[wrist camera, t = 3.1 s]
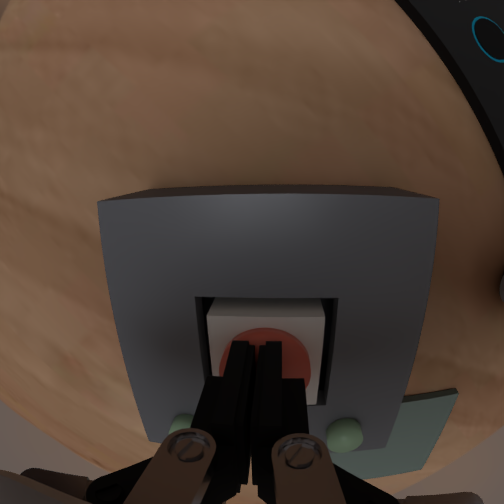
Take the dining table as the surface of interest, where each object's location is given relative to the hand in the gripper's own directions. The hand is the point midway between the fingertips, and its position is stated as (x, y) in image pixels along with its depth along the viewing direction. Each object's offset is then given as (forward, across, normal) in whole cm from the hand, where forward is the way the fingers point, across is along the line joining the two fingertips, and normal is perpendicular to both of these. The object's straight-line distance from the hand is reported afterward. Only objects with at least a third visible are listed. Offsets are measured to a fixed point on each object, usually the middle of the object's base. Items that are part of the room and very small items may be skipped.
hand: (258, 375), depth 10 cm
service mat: (+6, -7, +12) cm, 15 cm away
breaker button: (+4, 0, 0) cm, 4 cm away
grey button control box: (+6, 0, 0) cm, 6 cm away
